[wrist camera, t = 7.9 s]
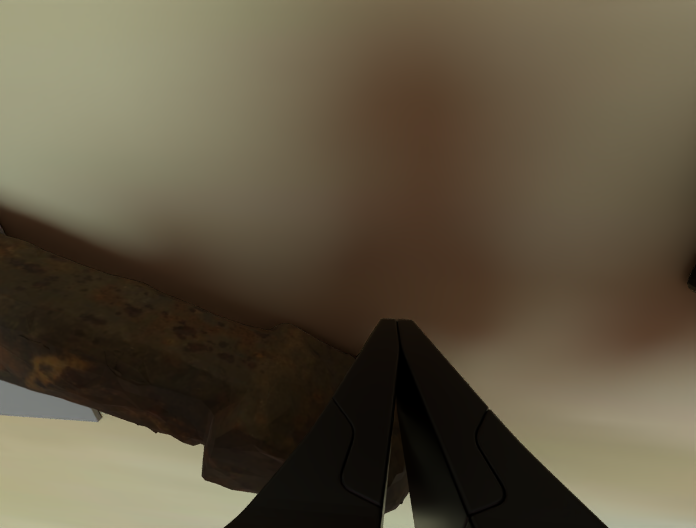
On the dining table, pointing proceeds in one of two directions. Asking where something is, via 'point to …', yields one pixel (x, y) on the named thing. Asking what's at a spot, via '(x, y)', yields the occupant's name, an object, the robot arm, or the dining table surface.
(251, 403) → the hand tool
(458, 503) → the robot arm
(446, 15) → the dining table surface
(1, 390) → the mat
